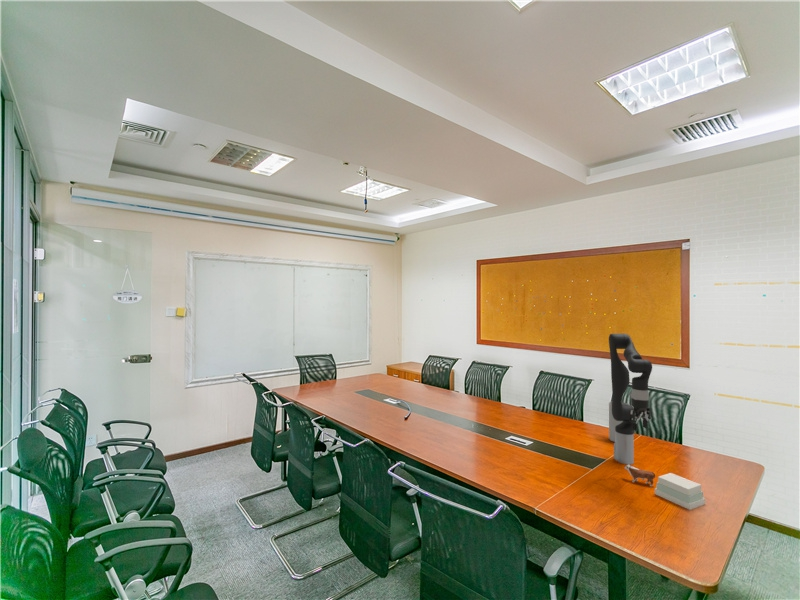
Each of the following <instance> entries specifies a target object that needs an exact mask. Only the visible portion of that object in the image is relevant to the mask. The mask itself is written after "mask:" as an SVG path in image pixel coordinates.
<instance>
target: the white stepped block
mask: <svg viewBox="0 0 800 600" xmlns="http://www.w3.org/2000/svg"><path fill="white" fill-rule="evenodd" d="M654 495H656V496H658V497H661V498H663V499H665V500H667V501H670V502H671V503H673V504H676V505H679V506H680V507H682V508H685V509H686V510H688V511H691V510H694V509H696V508H700V507H702V506H704V505H706V497H704V491H703V490H702V484H701V483H699V482H695V481H693V480H690V479H688V478H684V477H682V476H680V475H678V474H675V473H673V472H669V473H665V474H663V475H659V476H657V482H656V487H655V488H654Z"/></svg>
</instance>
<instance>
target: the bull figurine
mask: <svg viewBox="0 0 800 600" xmlns="http://www.w3.org/2000/svg"><path fill="white" fill-rule="evenodd" d="M624 470H627V472H628V473H629V474H630V476H631V477H632V480H631V482H632V483H635V482H638V479H641V480H642V481H645V480H646V479H647V481H645V484H649V487H653V486H654V485H653V484H654V479H655V477H656V474H655V473H654V472H653V471H649V470H643V469H639V468H637V467H634V466H633V464H630V465H629V464H625V466H624Z"/></svg>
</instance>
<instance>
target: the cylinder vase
mask: <svg viewBox="0 0 800 600" xmlns="http://www.w3.org/2000/svg"><path fill="white" fill-rule="evenodd" d="M622 405H631V403H627V402H623V401H622ZM622 422H623V421H616V420H615V419H614V418H613V415H612V401H609V402H608V439H609V441H610V442H613V443H615V427H616V425H618V424H620V423H622Z"/></svg>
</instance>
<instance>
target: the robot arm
mask: <svg viewBox="0 0 800 600" xmlns="http://www.w3.org/2000/svg"><path fill="white" fill-rule="evenodd" d="M608 335H609V336H608V346H609V354H610V355H609V356H610V370H611V371H610V375H611V376H610V377H611V390H612V391H611V392H612V393H611V402H612V415H613V418H614V419H615V420H616V421H623V422H622V423H620V424H618V425H616V427H615V442H613V459H614V460H615V462H617V461H618V463H620V464H623V465H628V464H629V465H630V466H631V465H633V464H634V463H635V461H634V459H635V453H634V452H635V451H634V449H635V448H634V447H635V446H634V445H635V444H634V437H635V435H634V432H635V431H638V422H639V421H640V420H641V419H642V427H643V429H648V426H649V423H648V422H649V420H651V418H652V412H651V410H652V409H651V407H650V406H649V405H650V404H649V403H650V402H649V400H650V397H649V396H650V395H649V394H650V393H649V380H650V376H651V374H652V372H653V364H652V362H651V361H650V360H649V359H643V357H642V355H641V354H640V353H639V352H638V351H637V349H636V347H635V345H634V342H633V339H632V338H631V336H630V335H629V334H627V333H610V334H608ZM618 350H623V357H624V359H625V360H626V361H627V366H626V365H625V364H624V362H623V360H622V359H621V358H620V356H619V354H618ZM630 373H634V374H640V375H639V376H634V377H632V379H630ZM630 381H631V392H630V393H631V399H630V400H631V401H630V405H622V402H623V396H624V394H625V392H626V391H627V389H628V387H629V386H630Z"/></svg>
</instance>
